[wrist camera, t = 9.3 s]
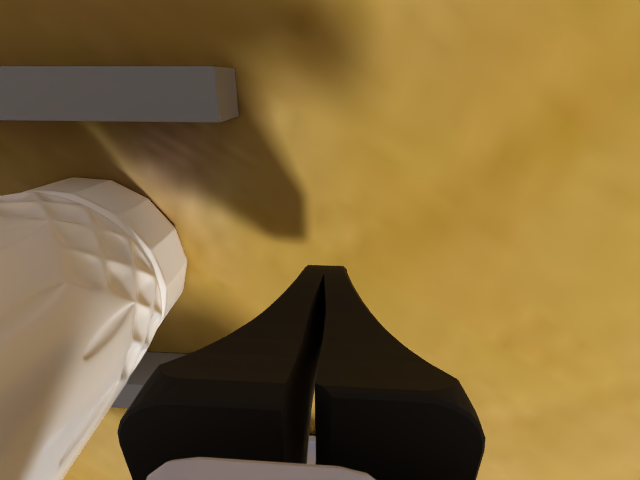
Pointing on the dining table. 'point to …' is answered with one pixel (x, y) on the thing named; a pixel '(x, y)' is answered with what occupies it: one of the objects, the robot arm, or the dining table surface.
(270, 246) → the dining table surface
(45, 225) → the white cup
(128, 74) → the gray u-shaped frame
